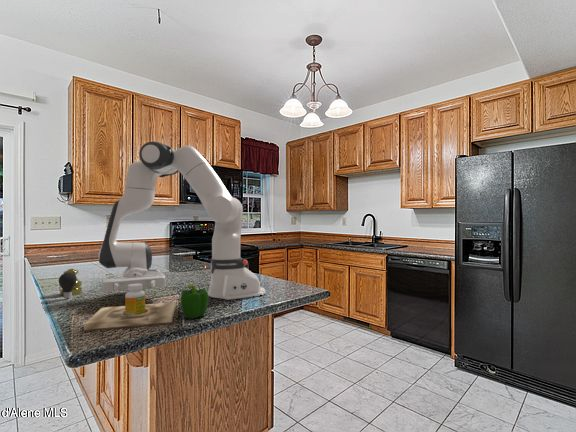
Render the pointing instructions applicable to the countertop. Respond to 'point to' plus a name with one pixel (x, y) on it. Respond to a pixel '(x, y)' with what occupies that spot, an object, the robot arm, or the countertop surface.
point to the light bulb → (67, 283)
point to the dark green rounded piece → (76, 288)
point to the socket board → (131, 317)
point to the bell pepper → (194, 302)
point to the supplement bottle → (135, 300)
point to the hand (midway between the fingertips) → (135, 287)
